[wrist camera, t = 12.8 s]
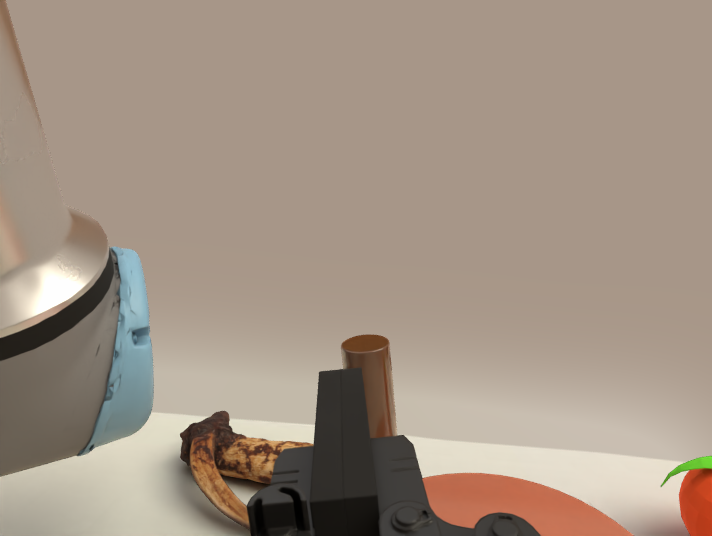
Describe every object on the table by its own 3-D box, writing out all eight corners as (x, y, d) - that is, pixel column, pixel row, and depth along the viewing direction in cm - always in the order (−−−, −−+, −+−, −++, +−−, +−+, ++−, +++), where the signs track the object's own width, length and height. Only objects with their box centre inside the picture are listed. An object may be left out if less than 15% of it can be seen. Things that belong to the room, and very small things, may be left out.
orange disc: (352, 477, 38) (334, 307, 35) (632, 497, 33) (639, 301, 30) (236, 802, 19) (173, 493, 16) (845, 958, 14) (923, 558, 11)
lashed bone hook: (135, 509, 40) (327, 556, 33) (121, 460, 39) (317, 498, 32) (208, 442, 48) (374, 468, 41) (198, 401, 47) (367, 420, 40)
